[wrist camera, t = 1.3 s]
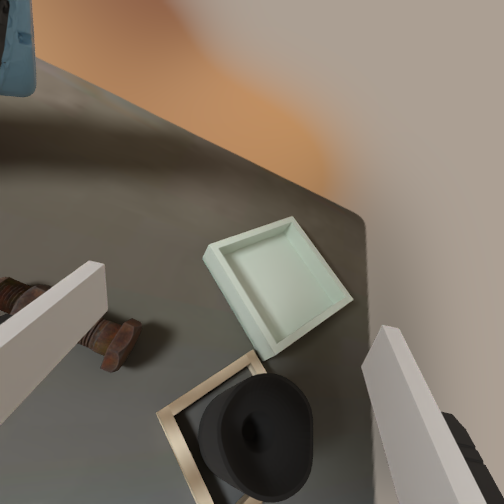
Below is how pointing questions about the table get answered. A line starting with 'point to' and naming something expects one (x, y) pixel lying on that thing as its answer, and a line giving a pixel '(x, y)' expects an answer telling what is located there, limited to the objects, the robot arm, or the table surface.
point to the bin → (275, 284)
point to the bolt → (97, 338)
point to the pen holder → (259, 437)
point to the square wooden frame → (176, 438)
